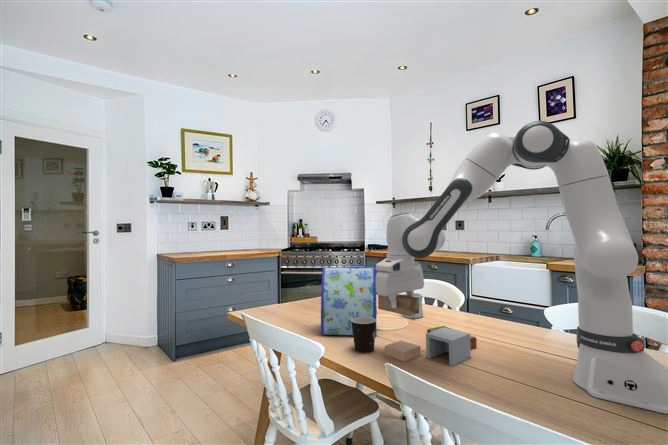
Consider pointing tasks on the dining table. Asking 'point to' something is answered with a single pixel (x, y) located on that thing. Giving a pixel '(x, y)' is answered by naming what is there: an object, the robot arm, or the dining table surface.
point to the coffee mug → (364, 334)
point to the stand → (402, 350)
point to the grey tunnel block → (448, 344)
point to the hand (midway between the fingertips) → (401, 306)
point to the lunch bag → (346, 297)
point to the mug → (419, 307)
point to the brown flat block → (472, 338)
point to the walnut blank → (400, 304)
